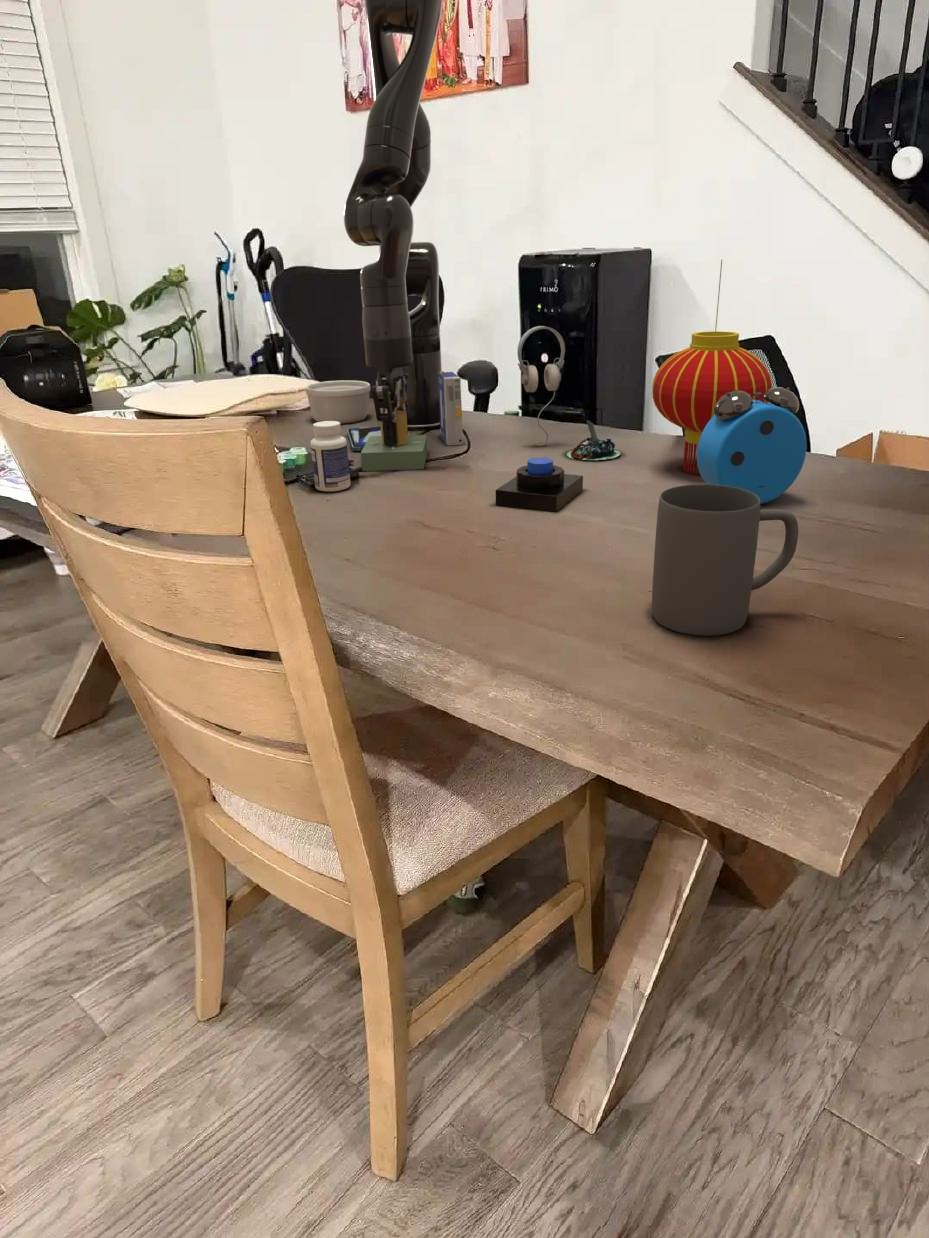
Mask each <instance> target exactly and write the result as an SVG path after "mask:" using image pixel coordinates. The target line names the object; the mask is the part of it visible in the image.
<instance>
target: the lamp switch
mask: <svg viewBox="0 0 929 1238" xmlns="http://www.w3.org/2000/svg"><path fill="white" fill-rule="evenodd" d="M583 487H584V476H583V475H581V474H580V475H578V474H569V473H565V470H564V468H563V467H561V466H559V465H554V464H553V473H548V474H531V473H528V472H527V465H523V466H520V467H519V468H517V469H516V476H515V477H513V478H512V479H510V480H509V481H507V482H506V483H504V484H503V485H501V486H499V487H498V488H496V489H495V506H500V507H501V506H502V507H509V508H518V509H527V510H536V511H545V512H558V511H559V510H560V509H562V508H563V507H564V506H565V505H566V504H568V503H569V502H570V501H571V500H573V499H574V498H575V497H576V496H577V495H579V494H580V493H581V492H582V491H583V490H584V488H583Z"/></svg>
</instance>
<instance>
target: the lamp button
mask: <svg viewBox="0 0 929 1238" xmlns="http://www.w3.org/2000/svg"><path fill="white" fill-rule="evenodd" d="M526 464H527V465H526V466H527V472H528V473H531V474H548V473H553V465H554V460H553V458H549V457H533V458H532V457H531V458H529V459H527V463H526Z"/></svg>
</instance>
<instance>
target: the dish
mask: <svg viewBox="0 0 929 1238" xmlns="http://www.w3.org/2000/svg"><path fill="white" fill-rule="evenodd" d="M586 424H587V427H588V430H589V434H590V436H588V437H587V438H583V439H582V441H580V442H579V443H578V444H577V445H576V447H574V448H573V449H571V450H570V451H568V452H567V453H566V456H567V457H568V458H570V459H572V460H574V459H575V460H576V459H577V460H579V461H599V460H601V461H602V460H609V459H611V460H613V459H615V458H617V457H619V456H621V454H622V453H621V452H620V451H618V450H616V449H615V447H616V444H615V442H613V441H612V439H611V438H612V437H606V440H605V439H604V440H600V439H599V438H598V435H597V433H596V430H595V426H594V423H593V422H592V421H591V420H588V419H586Z"/></svg>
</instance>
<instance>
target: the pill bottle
mask: <svg viewBox="0 0 929 1238" xmlns="http://www.w3.org/2000/svg"><path fill="white" fill-rule="evenodd" d="M312 432H313V434H314V435H315V437H313V438H312V439H311V441H310V443H309V444H310V454H311V462H312V463H311V464H312V469H313V470H312V471H313V479H314V481H313V482H314V487H315V489H316V490H317V491H321V492H326V493H327V492H328V493H331V492H333V493H334V492H339V491H344V490H346V489H349V488H350V487H351V473H350V472H351V471H350V462H349V452H348V451H349V450H348V441H347V439H346V437H344V436H343V435H341V433H342V427H341V424H340V422H337V421H322V422H317V421H316V422H314V423H313V425H312Z"/></svg>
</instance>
